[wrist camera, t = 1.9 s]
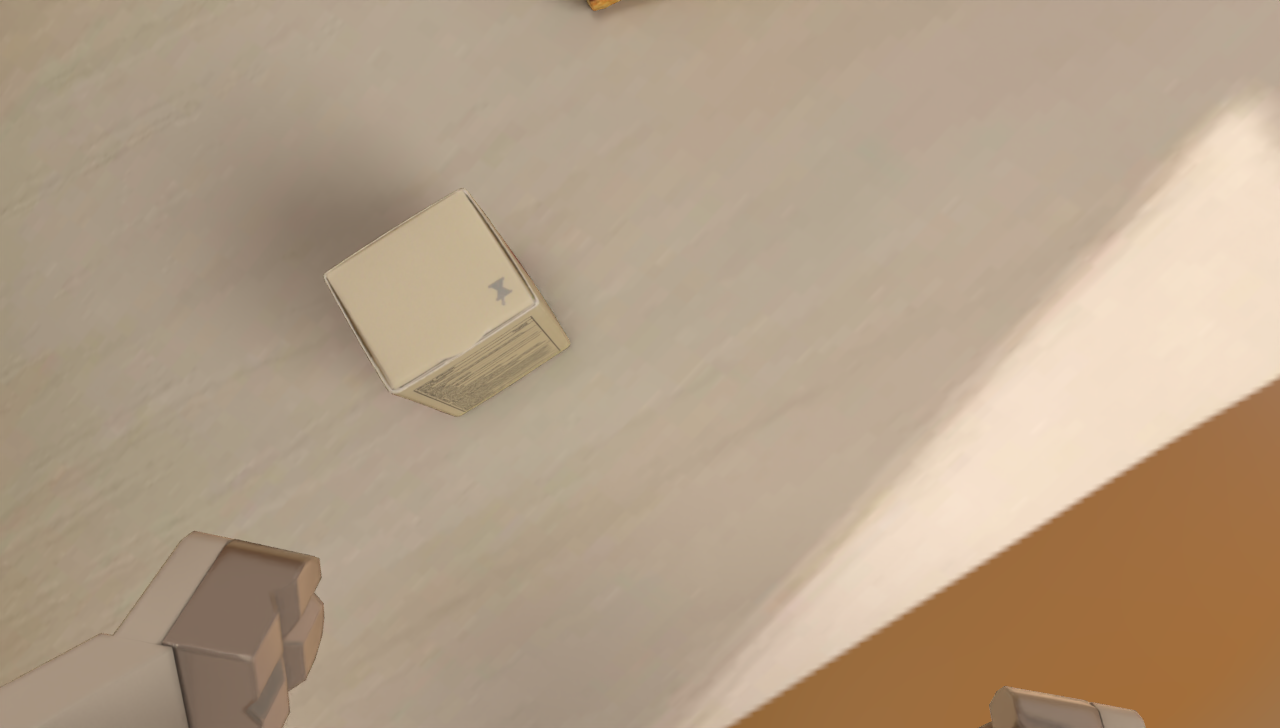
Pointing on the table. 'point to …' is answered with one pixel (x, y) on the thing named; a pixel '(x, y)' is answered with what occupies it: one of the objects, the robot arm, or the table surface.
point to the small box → (445, 308)
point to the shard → (600, 4)
